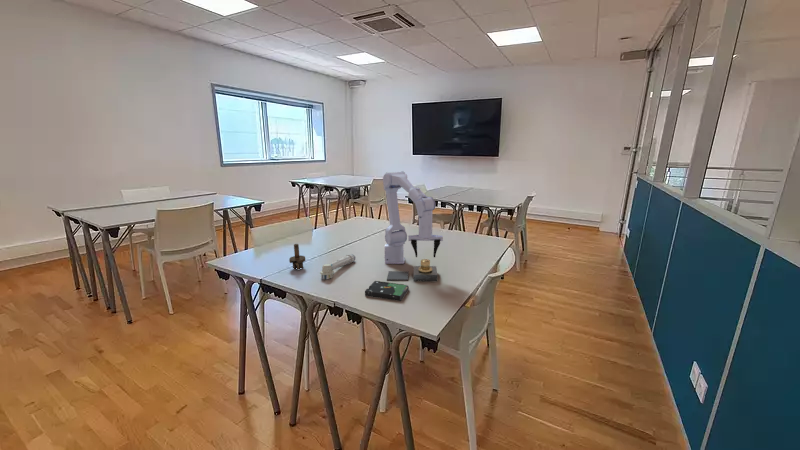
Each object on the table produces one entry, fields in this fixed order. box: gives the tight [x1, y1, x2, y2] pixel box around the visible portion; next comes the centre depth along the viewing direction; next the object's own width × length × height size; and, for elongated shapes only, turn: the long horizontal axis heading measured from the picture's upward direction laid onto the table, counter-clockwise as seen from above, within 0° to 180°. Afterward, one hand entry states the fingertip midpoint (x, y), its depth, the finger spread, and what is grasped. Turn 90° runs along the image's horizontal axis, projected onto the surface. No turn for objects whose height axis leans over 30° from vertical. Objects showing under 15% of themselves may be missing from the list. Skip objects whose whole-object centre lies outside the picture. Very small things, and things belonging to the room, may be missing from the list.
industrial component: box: [288, 243, 306, 270], centre depth 153 cm, size 9×7×12 cm
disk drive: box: [364, 280, 410, 302], centre depth 127 cm, size 10×3×15 cm
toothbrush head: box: [319, 253, 356, 280], centre depth 151 cm, size 5×7×25 cm
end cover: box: [418, 258, 432, 273], centre depth 141 cm, size 6×6×8 cm
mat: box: [386, 270, 409, 282], centre depth 143 cm, size 9×9×1 cm
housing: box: [413, 265, 438, 283], centre depth 142 cm, size 10×10×3 cm
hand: (425, 256), depth 140 cm, fingers open, 7 cm apart
